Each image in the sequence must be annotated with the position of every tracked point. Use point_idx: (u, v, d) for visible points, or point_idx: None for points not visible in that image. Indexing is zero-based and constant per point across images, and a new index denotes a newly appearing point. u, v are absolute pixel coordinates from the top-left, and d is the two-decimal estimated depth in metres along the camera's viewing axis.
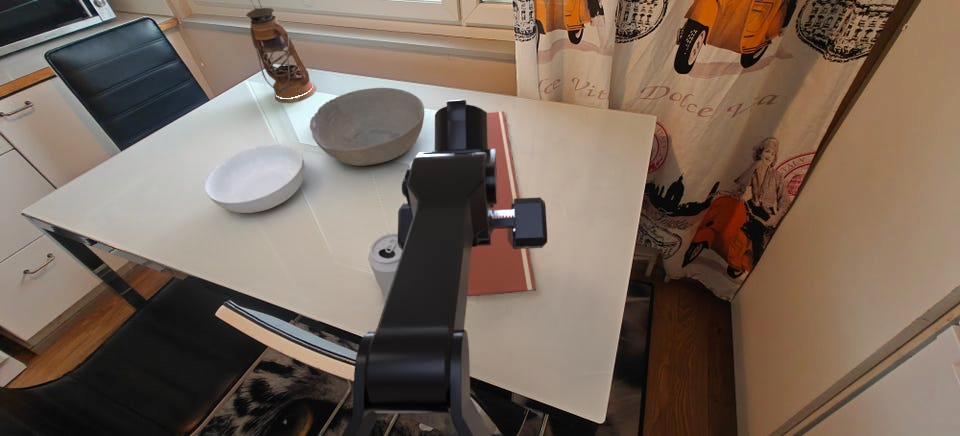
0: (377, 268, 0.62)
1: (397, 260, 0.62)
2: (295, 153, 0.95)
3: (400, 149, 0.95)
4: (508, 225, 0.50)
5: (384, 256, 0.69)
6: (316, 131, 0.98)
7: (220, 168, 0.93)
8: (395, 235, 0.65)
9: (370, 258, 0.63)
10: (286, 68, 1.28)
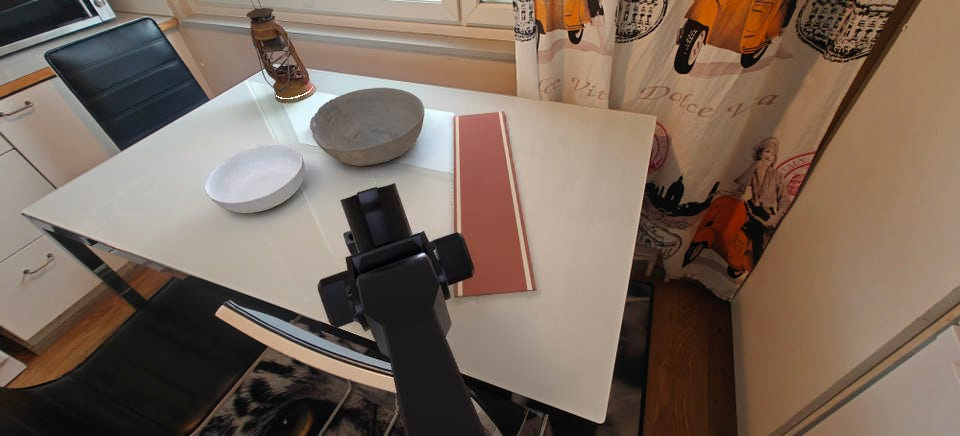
0: None
1: None
2: (295, 153, 0.95)
3: (400, 149, 0.95)
4: None
5: None
6: (316, 131, 0.98)
7: (220, 168, 0.93)
8: None
9: None
10: (286, 68, 1.28)
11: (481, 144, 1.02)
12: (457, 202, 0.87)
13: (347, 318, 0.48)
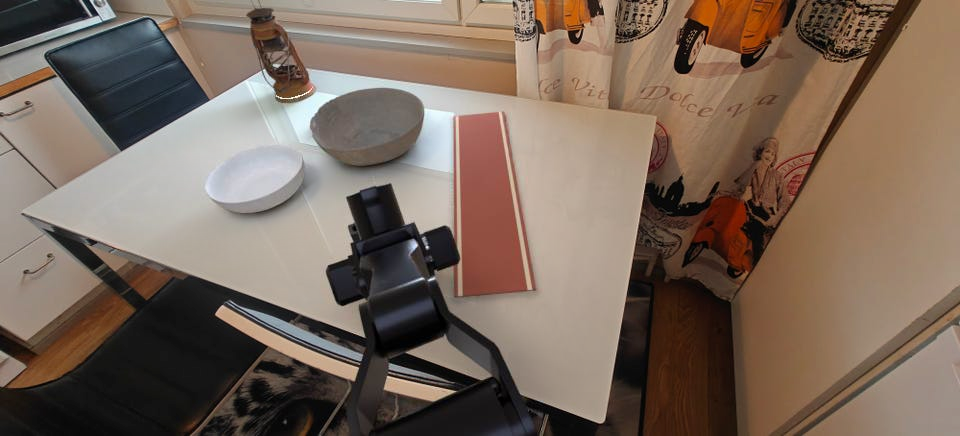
0: None
1: None
2: (295, 153, 0.95)
3: (400, 149, 0.95)
4: None
5: None
6: (316, 131, 0.98)
7: (220, 168, 0.93)
8: None
9: None
10: (286, 68, 1.28)
11: (481, 144, 1.02)
12: (457, 202, 0.87)
13: (351, 298, 0.57)
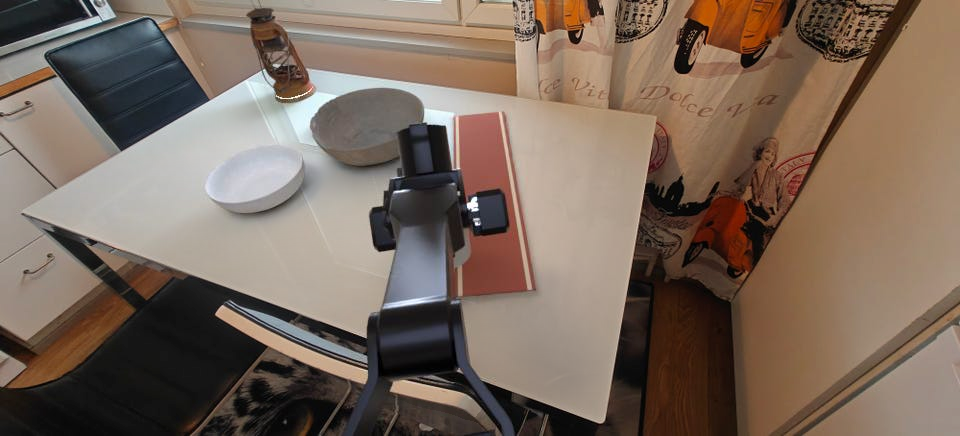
0: None
1: None
2: (295, 153, 0.95)
3: None
4: (473, 217, 0.55)
5: None
6: (316, 131, 0.98)
7: (220, 168, 0.93)
8: None
9: None
10: (286, 68, 1.28)
11: (481, 144, 1.02)
12: None
13: (388, 245, 0.54)
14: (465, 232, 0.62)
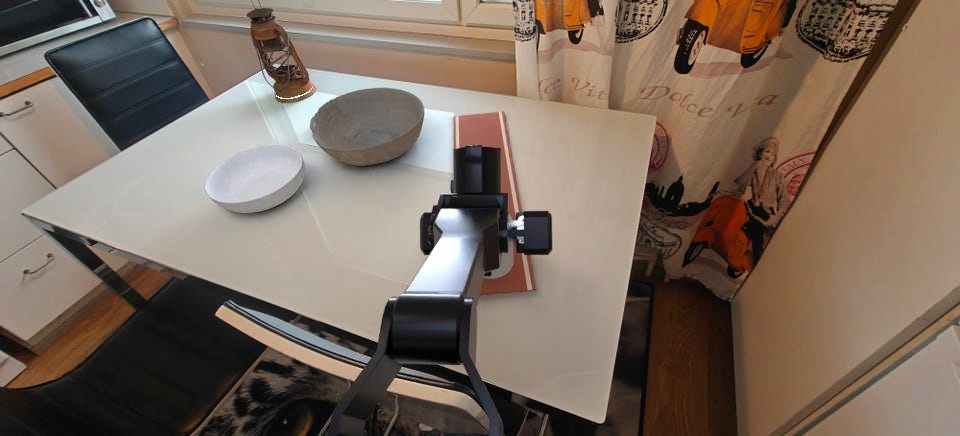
0: None
1: None
2: (295, 153, 0.95)
3: (400, 149, 0.95)
4: (518, 236, 0.57)
5: None
6: (316, 131, 0.98)
7: (220, 168, 0.93)
8: None
9: None
10: (286, 68, 1.28)
11: (481, 144, 1.02)
12: None
13: None
14: (509, 246, 0.64)
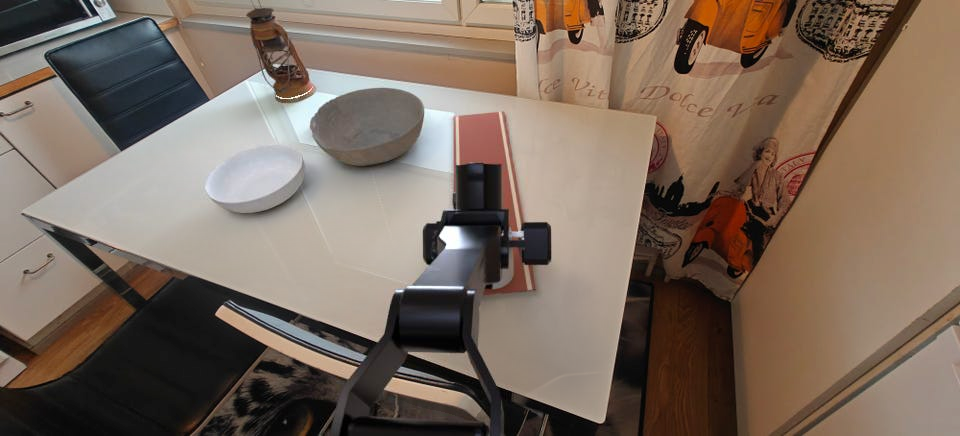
0: None
1: None
2: (295, 153, 0.95)
3: (400, 149, 0.95)
4: (518, 246, 0.58)
5: None
6: (316, 131, 0.98)
7: (220, 168, 0.93)
8: None
9: None
10: (286, 68, 1.28)
11: (481, 144, 1.02)
12: None
13: None
14: (509, 259, 0.66)
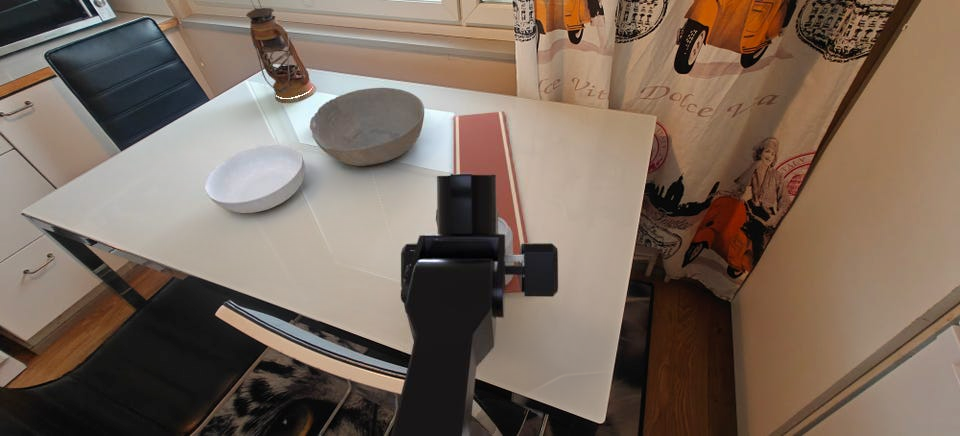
0: None
1: None
2: (295, 153, 0.95)
3: (400, 149, 0.95)
4: (517, 273, 0.47)
5: None
6: (316, 131, 0.98)
7: (220, 168, 0.93)
8: (498, 220, 0.66)
9: None
10: (286, 68, 1.28)
11: (481, 144, 1.02)
12: None
13: None
14: None
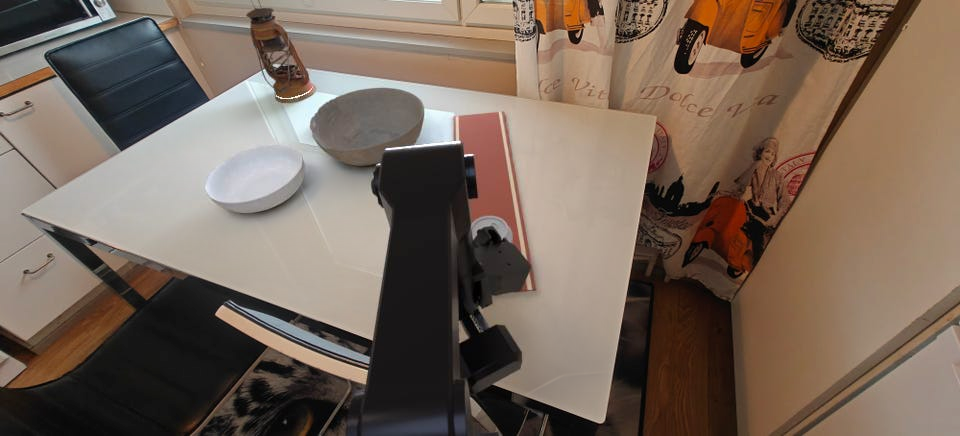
0: None
1: None
2: (295, 153, 0.95)
3: None
4: (469, 333, 0.40)
5: None
6: (316, 131, 0.98)
7: (220, 168, 0.93)
8: (498, 220, 0.66)
9: None
10: (286, 68, 1.28)
11: (481, 144, 1.02)
12: None
13: None
14: None
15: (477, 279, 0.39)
